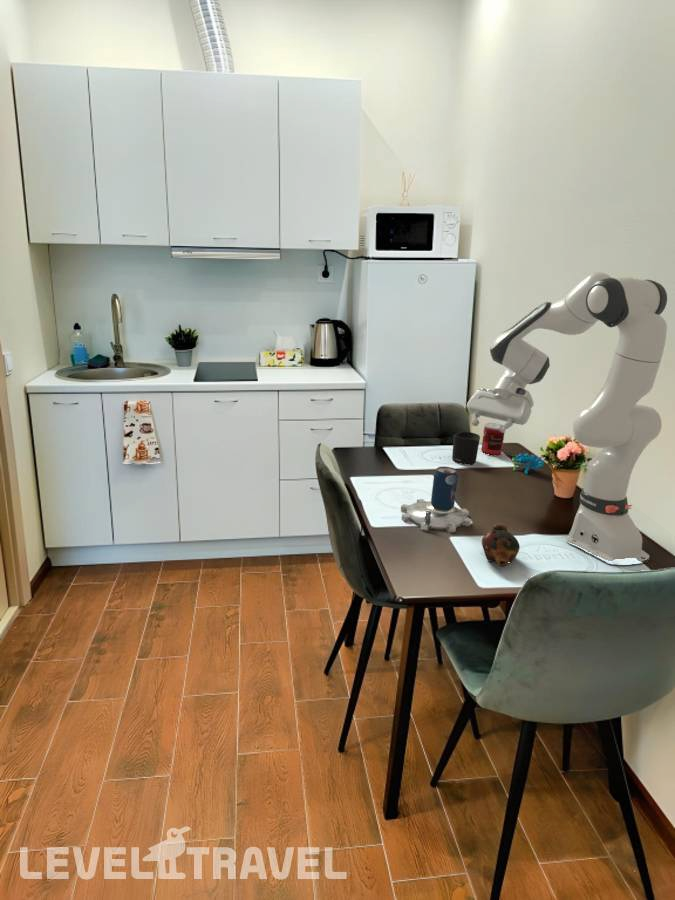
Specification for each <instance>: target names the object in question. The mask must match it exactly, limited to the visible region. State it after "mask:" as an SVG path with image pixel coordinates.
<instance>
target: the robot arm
mask: <svg viewBox="0 0 675 900" xmlns="http://www.w3.org/2000/svg"><path fill="white" fill-rule="evenodd" d="M667 303H668V293H667V290H666V289H665V287H664V286H663V285H662V284H661V283H659V282H658V281H656V280H655V281H654V280H652V279H640V278H633V277H611V275H609V274H607V273H605V272H601V271H599V272H598V271H597V272H592V273H590V274H589V275H587V276H586V277H584V279H582V280H580V281H579V283H577V284H576V285H575V286H574V287H573V288H572V289H571V290H570V291H569V292H568V293H567V294H566V295H565V296H564V297H562V298H561V299H559V300H557V301H550V302H549V301H548V302H547V301H546V302H543V303H541V304H540V305H538V306H537V307H535V308H534V309H533V310H531V311H529V313H527V314H526V315H525V316H524V317H523V318H521V319H520V320H518V321H517V322H516V323H515V324H514V325H513V326H511V327H510V328H508V329H507V330H505V331H503V332H501V334H499V335H498V336H497V337H496V338H495V339H494V340H493V342H492V343H491V345H490V348H489V352H490V357H491V359H492V361H493V362H495V363H497V364H499V365H501V366H503V367H504V369H503V373H502V375H501V376H499V378H498V379H497V381H496V382H495V385H494V387H493V388H492V389H489V388H488V389H487V388H484V387H482V388H480V389H477V390H475V392H474V393H473V395H472V396H471V397H470V399H469V400H468V401H467V404H466V409H467V411H468V412H469V414H472V415H473V419H472V421H471V425H472V426H474V427H478V426H479V425H480V423H481V422H480V421H479V419H478V418H480V416H481V417H485V418H491V419H494V420H499V421H502V422H505V423H504V424H501V425H500V427H499V432H502V433H504V432H505V433H506V430H507V429H509V428H510V427H513V425H514V424H517V425H519V426H523V425H525V424H527V422H528V421H529V419H530V417H531V413H532V408H533V407H534V400H533V397H532V395H531V393H530V391H529V390H527V389H526V387H527V385H534V384H537V383H540V382H541V381H542V380H543V379H544V377H545V375H546V374H547V372H548V369H549V368H550V366H551V364H550V357H549V356H548V355H547V354H546V353H544V352H543V351H542V350H540V349H539V348H537V347H536V346H533V345H531V344H530V343H528V342H527V341H526V340H524V339H523V338H524V337H526V336H527V335H528V334H530V333H531V332H533V331H534V330H537V329H543V330H548V331H554V332H556V333H559V334H563V335H569V336H572V335H573V336H576V335H581V334H584V333H586V331H588V330H589V329H591V327H593V326H594V325H595V324H596V323H597V322H598V321H601V322H602V323H603V324H605V325H606V326H607V327H608V328H614V327H617V329H618V330H619V331H618V332H619V337H618V342H617V344H616V347H615V351H614V355H613V357H612V358H613V359H612V362H611V366H610V368H609V370H608V375H607V378H606V379H605V382H604V384H603V386H602V387H601V388H600V390H599V392H598V393H597V394H596V396H595V397H594V398H593V400H592V401H591V402H590V403H589V404H588V405H587V406H586V407H585V408H584V409H583V410H581V411H579V412H578V413H577V414H576V415H575V417H574V421H573V425H572V431H573V435H574V437H575V439H576V440H577V442H578V443H579V444H581V445H582V446H586V447H590V448H596V449H597V448H599V449H601V450H600V451H599V452H598V454H597V455H595V456H594V457H593V458H592V459H590V461H589V462H588V464H587V468H586V473H585V478H584V479H585V480H584V485H583V487H582V489H581V491H580V493H579V500H578V501H579V507H578V509H577V511H576V514H575V516H574V520H573V523H572V527H571V529H570V531H569V533H568V536H567V537H566V541H568V542H570V543H572V544H575V545H577V546H579V547H581V548H583V549H585V550H587V551H588V552H591V553H592V554H594V555H596V556H599V557H601V558H603V559H605V560H608V561H613V560H615V559H625V558H636V559H637V560H638V561H644V560H647V559H649V557H651V556H650V555H649V553H647V552H646V551H644V550H643V549H642V548H643V536H642V534H641V532H640V528H638V527H637V526H636V524H635V523H634V521H633V519H632V518H631V516H630V514H629V510H631V509H632V508H633V507H632V506H633V505H632V504H629V503H628V497H627V493H628V488H629V484H630V479H631V475H632V472H633V469H634V468H635V466H636V463H637V461H638V460H639V458H640V456H641V454H642V453H643V452H644V450H645V449H646V448H647V446H648V445H650V443H651V442H652V441H654V440H655V439H657V437H658V436H659V434H660V433H661V431H662V418H661V416H660V414H659V412H658V410H656V409H655V408H653V407H651V406H647V405H641V404H637V403H638V402H639V401H640V400H641V399H642V398H644V397H645V396H646V395H648V393H650V392H651V391H652V389H653V388H654V383H655V382H656V381H655V380H656V377H657V374H658V371H659V368H660V364H661V362H662V358H663V355H664V351H665V345H666V340H667V339H666V338H667V331H668V324H667V321H666V320H665V319H664V318H663V317H662V316H661V314H662V313H663V312H664V311H665V309H666V306H667ZM505 433H504V434H505ZM641 557H642V558H645V559H642V558H641ZM649 560H650V559H649Z"/></svg>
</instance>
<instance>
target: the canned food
mask: <svg viewBox="0 0 675 900" xmlns="http://www.w3.org/2000/svg"><path fill="white" fill-rule="evenodd" d="M500 425H502V424H501V423H496V422H487V423H484V427H483V434H482V443H481V453H482V452H483V454H484V453H485V454H484V455H486V454H489V455H488V456H490V455H499V456H500V454H501V455H502V453H503V452H502V451H503V446H504V439H505V433H506V431H505V432H504V433H502V432H499V427H500Z"/></svg>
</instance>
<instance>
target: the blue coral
mask: <svg viewBox="0 0 675 900" xmlns="http://www.w3.org/2000/svg"><path fill="white" fill-rule="evenodd" d="M511 462H512V463H513V466H514V467H513V469H512V470H513V471H516V469H517V467H522V468H524V469H525V470H524V474H525V475H528V473H529V469H530V470H534V468H535V470H539V469H540V468H543V466H544V461H543V460H542V458H541V457H536V455H535V454H531V455H529V453H528V452H526V453H524V454H523V453H519V454H518V455H515V457H512V460H511Z"/></svg>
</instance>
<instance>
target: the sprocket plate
mask: <svg viewBox="0 0 675 900" xmlns="http://www.w3.org/2000/svg"><path fill="white" fill-rule="evenodd" d="M400 511H401V512H405V513H402V514H401V521H403V522H404V523H407V522H412V523H413V524H415V525H417V526H419V527H420V528H419V530H421V531H429V529H431V530H439V531H441V530H442V531H444V530H446V531H447V532H448V533H449V534H451V533H455V532H456V530H457V529H458V528H460V527H462V526H464V525H465V527H468V526H469V527H470V526H471V525H472V519H470V518H467V517H469V510H468V509H466V508H458V507H457V506H455V505H454V506H453V508H452V509H451V510H449V511H439V510H436V509H434V508H433V506H432V504H431V501H426V500H425V499H423V498H420V499H418V498H417V499H416V502H415V503H411V504H405V503H403V504H402V505H401V506H400ZM461 525H462V526H461ZM457 527H458V528H457Z"/></svg>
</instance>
